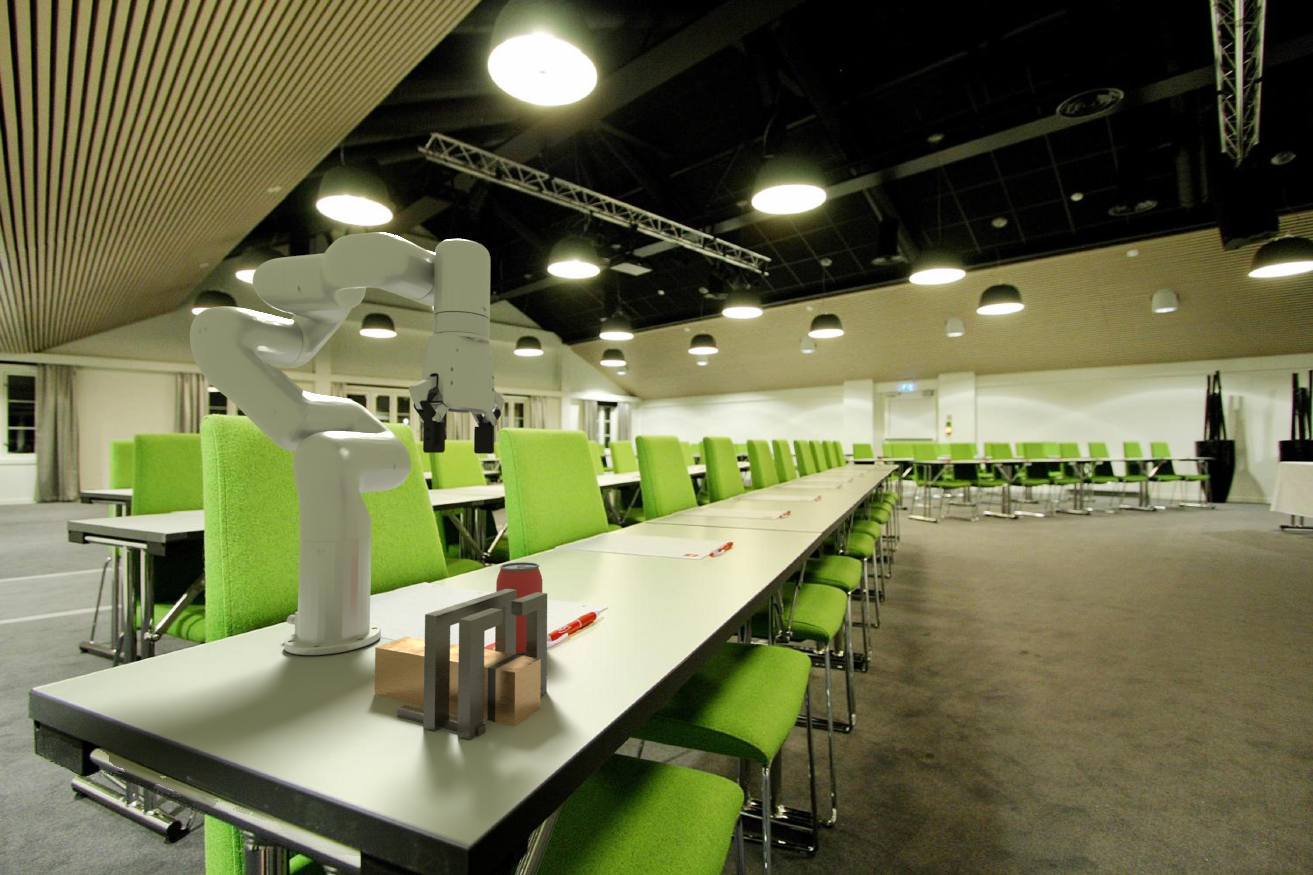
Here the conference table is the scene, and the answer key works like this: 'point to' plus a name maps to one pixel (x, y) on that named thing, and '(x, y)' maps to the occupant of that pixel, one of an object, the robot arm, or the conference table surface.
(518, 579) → the beer can
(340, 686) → the conference table surface
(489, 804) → the conference table surface
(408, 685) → the long brass-colored rectangular prism
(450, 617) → the gray arch posts
